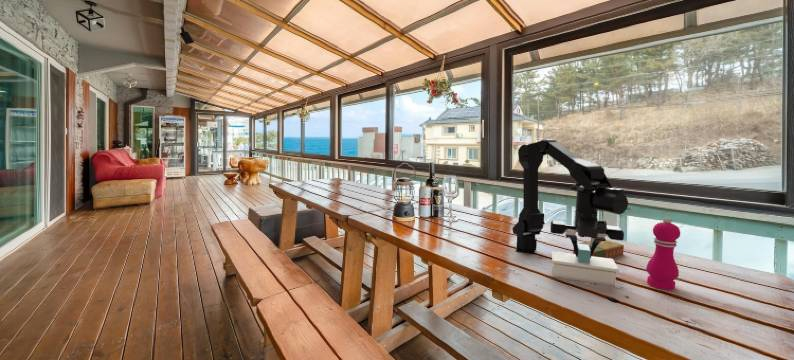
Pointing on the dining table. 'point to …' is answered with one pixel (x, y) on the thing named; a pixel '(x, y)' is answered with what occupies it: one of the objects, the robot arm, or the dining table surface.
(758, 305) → the dining table surface
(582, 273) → the box base
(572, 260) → the lid
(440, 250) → the dining table surface
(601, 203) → the robot arm
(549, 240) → the dining table surface
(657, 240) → the pepper mill
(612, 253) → the carton
